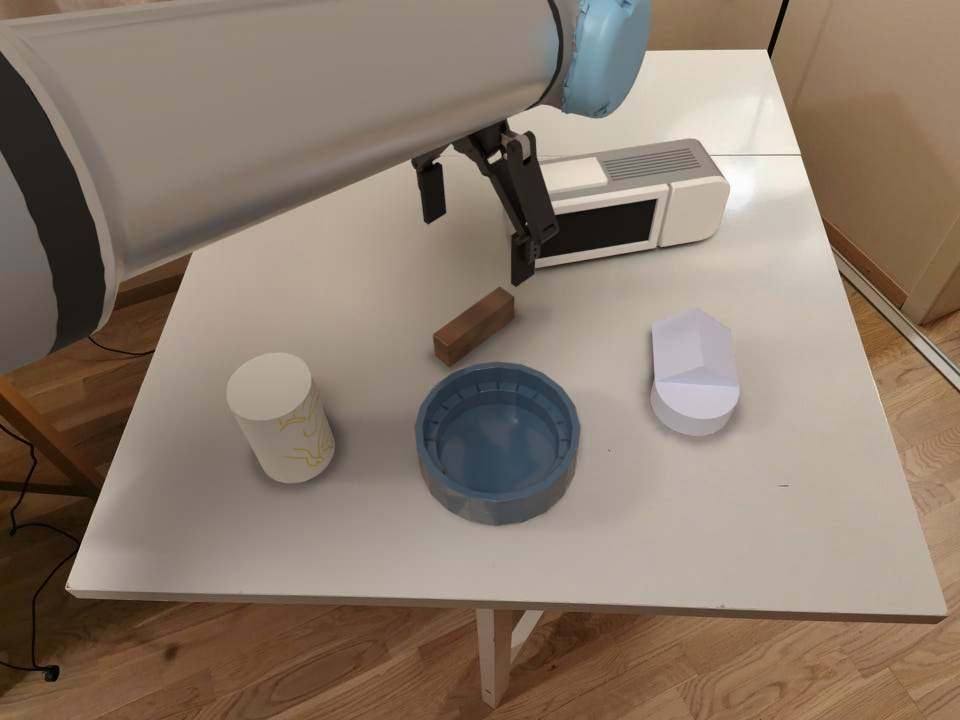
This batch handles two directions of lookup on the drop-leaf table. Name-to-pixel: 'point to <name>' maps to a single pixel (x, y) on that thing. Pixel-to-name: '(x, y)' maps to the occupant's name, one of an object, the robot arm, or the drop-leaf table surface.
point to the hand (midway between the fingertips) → (477, 247)
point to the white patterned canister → (282, 416)
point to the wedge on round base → (693, 373)
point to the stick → (474, 326)
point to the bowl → (497, 442)
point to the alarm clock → (631, 200)
